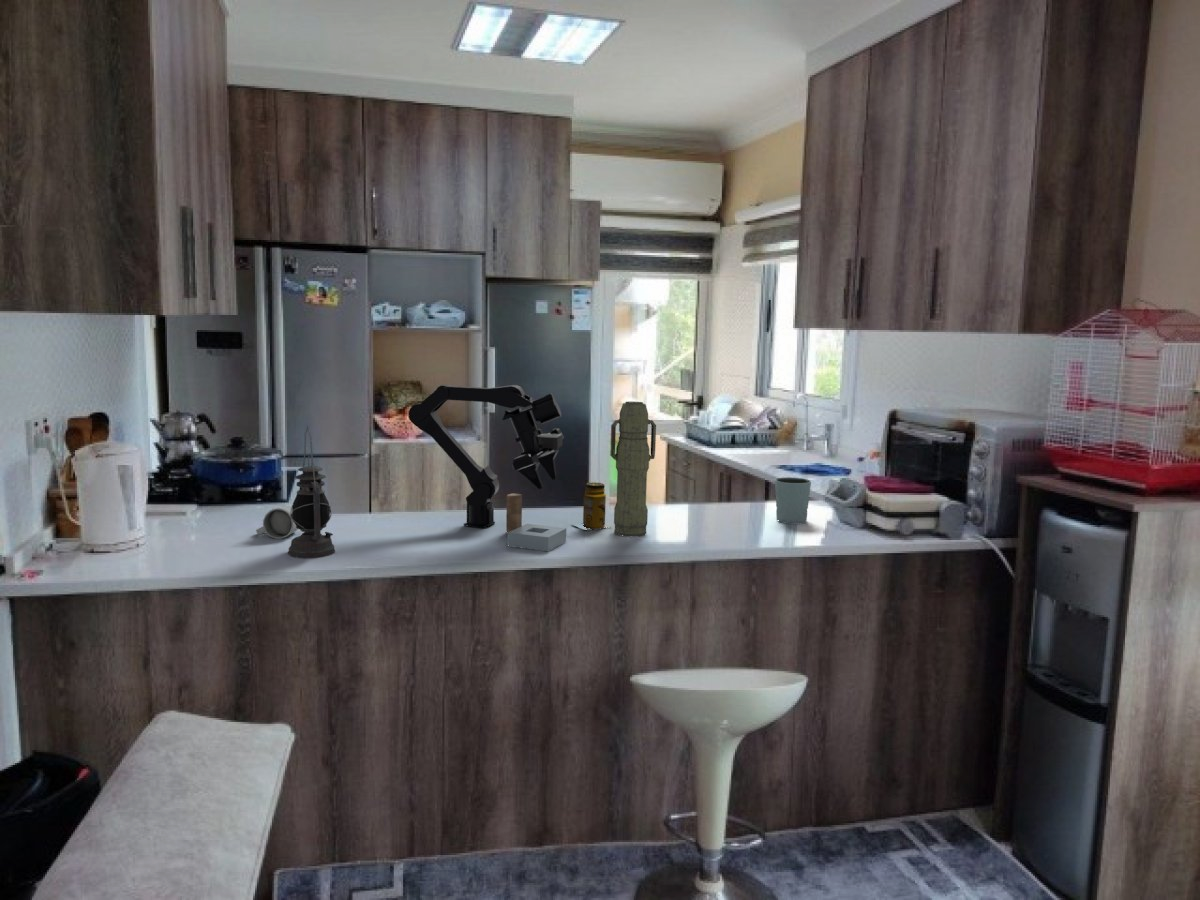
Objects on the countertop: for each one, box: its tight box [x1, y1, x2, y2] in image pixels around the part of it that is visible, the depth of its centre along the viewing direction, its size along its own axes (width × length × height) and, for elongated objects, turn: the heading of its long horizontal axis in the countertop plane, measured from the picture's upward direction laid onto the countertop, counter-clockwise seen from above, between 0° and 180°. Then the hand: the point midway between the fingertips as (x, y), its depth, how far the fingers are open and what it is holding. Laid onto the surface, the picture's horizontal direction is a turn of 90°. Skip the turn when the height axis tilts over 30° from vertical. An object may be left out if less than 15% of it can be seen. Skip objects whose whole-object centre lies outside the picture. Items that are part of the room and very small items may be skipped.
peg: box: [505, 493, 523, 532], centre depth 230 cm, size 3×3×10 cm
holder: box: [507, 523, 567, 552], centre depth 218 cm, size 11×11×4 cm
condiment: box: [582, 482, 611, 531], centre depth 238 cm, size 7×8×12 cm
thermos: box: [609, 401, 657, 537], centre depth 231 cm, size 9×12×35 cm
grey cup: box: [774, 476, 812, 525], centre depth 252 cm, size 10×10×12 cm
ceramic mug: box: [255, 505, 299, 540], centre depth 221 cm, size 11×8×8 cm
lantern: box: [287, 425, 336, 559], centre depth 203 cm, size 12×11×30 cm
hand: (547, 483), depth 235 cm, fingers open, 9 cm apart
